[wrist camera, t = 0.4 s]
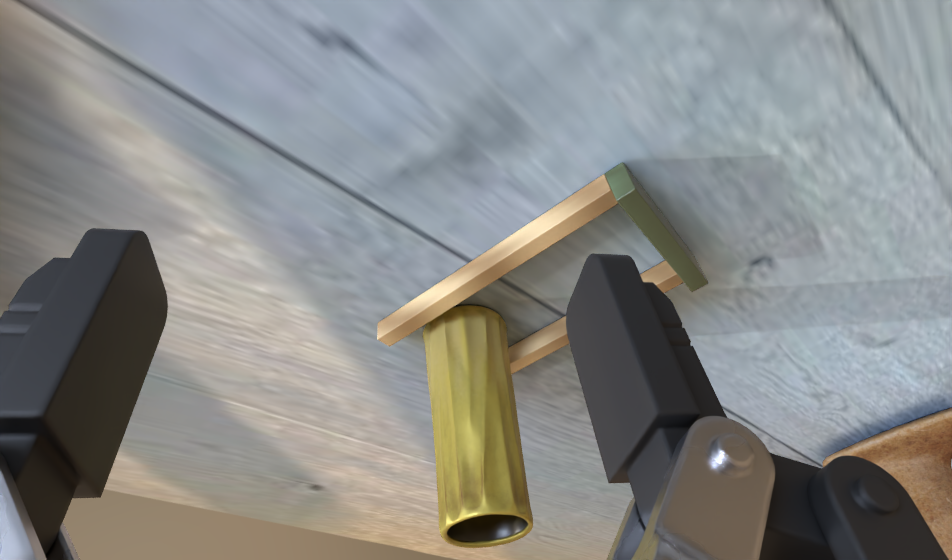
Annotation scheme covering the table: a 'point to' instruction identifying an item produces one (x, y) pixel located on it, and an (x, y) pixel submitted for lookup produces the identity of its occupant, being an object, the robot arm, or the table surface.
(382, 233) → the table surface
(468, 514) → the vase
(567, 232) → the u-shaped frame
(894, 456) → the clay pipe
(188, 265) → the table surface
